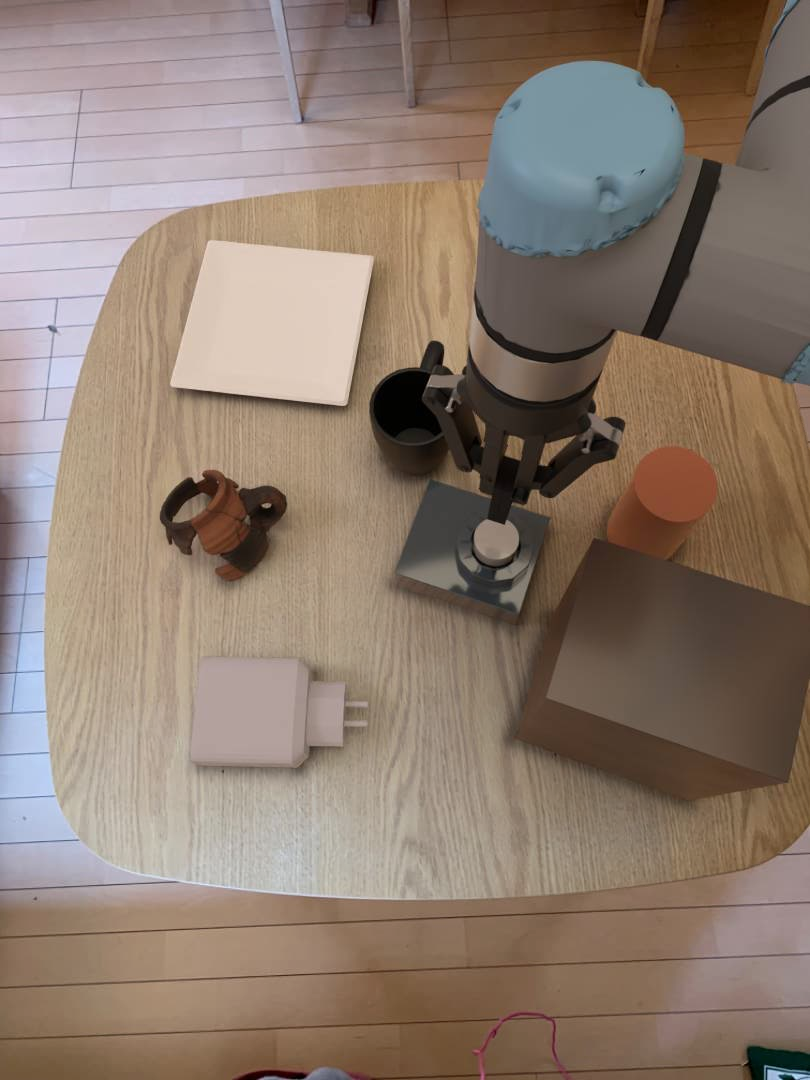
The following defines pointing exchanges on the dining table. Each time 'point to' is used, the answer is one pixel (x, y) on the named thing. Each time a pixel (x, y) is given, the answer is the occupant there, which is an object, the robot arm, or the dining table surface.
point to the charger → (265, 712)
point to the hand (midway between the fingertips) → (501, 507)
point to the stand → (670, 676)
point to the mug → (408, 417)
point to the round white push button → (495, 542)
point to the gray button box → (467, 554)
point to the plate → (274, 322)
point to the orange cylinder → (663, 502)
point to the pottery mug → (225, 521)
